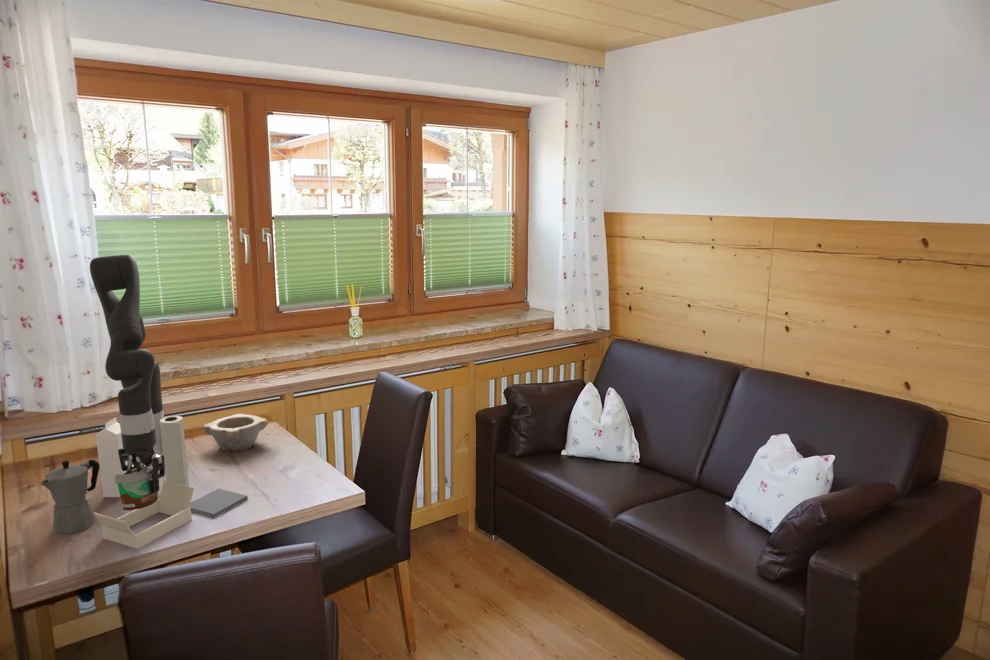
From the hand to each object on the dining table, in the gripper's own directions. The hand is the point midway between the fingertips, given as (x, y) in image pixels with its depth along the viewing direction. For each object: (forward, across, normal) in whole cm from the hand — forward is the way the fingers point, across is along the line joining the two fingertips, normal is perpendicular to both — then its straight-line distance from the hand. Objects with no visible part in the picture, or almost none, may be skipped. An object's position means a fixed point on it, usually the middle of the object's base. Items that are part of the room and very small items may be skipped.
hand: (145, 489), depth 170 cm
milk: (+11, -26, +11) cm, 30 cm away
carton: (+11, 0, 0) cm, 11 cm away
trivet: (+11, +5, +17) cm, 21 cm away
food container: (+4, 0, 0) cm, 4 cm away
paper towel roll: (+11, -13, +20) cm, 26 cm away
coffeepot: (+11, -19, -6) cm, 23 cm away
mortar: (+12, -22, +52) cm, 57 cm away
